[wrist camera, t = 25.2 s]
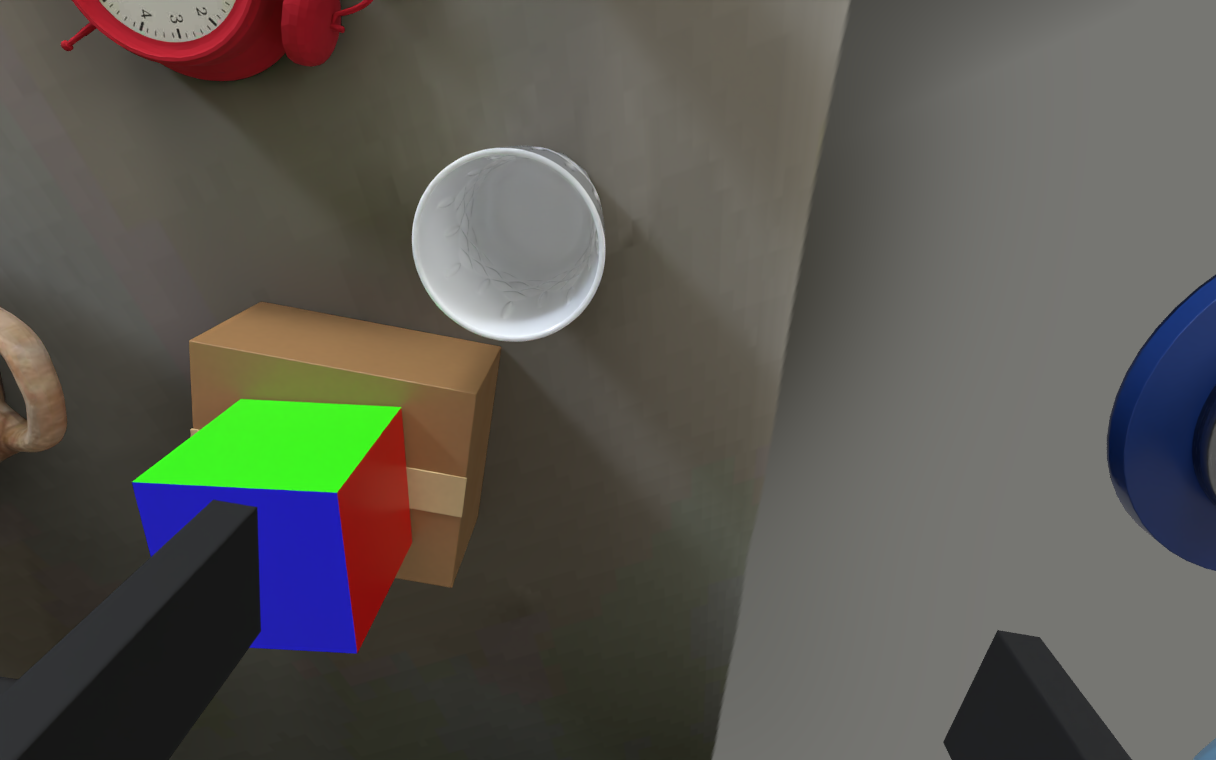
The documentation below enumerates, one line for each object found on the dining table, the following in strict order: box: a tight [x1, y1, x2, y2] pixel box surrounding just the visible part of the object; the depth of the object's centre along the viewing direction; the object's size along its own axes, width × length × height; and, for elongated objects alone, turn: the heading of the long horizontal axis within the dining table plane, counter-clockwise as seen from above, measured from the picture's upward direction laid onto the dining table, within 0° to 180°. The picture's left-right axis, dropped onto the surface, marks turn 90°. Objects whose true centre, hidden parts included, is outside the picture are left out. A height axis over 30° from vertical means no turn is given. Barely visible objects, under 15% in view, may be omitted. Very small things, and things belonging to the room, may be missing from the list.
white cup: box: [412, 146, 605, 342], centre depth 32 cm, size 8×8×10 cm
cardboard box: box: [189, 302, 501, 588], centre depth 39 cm, size 14×12×7 cm
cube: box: [132, 399, 412, 653], centre depth 32 cm, size 8×8×8 cm
